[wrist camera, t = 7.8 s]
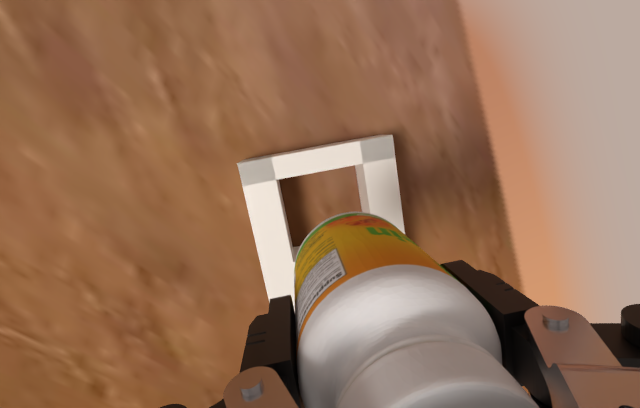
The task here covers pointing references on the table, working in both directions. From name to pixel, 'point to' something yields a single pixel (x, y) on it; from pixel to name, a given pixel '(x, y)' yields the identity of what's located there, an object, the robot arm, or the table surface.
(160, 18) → the table surface
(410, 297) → the supplement bottle
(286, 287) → the white bottle holder
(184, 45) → the table surface
